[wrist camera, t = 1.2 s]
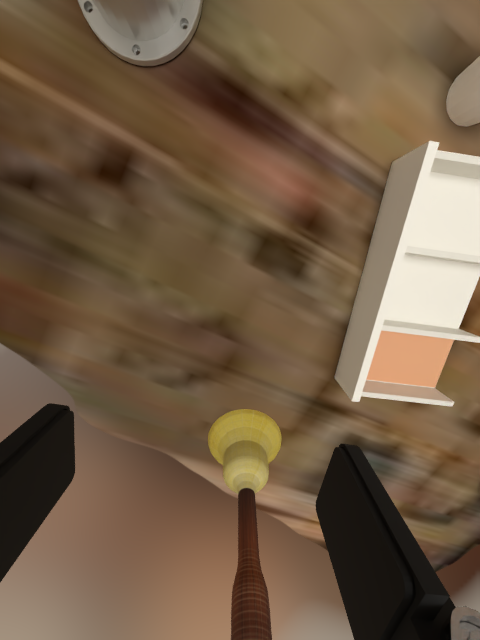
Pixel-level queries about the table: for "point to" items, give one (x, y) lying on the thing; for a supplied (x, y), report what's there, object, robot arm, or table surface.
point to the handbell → (247, 510)
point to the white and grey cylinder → (465, 96)
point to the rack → (415, 279)
